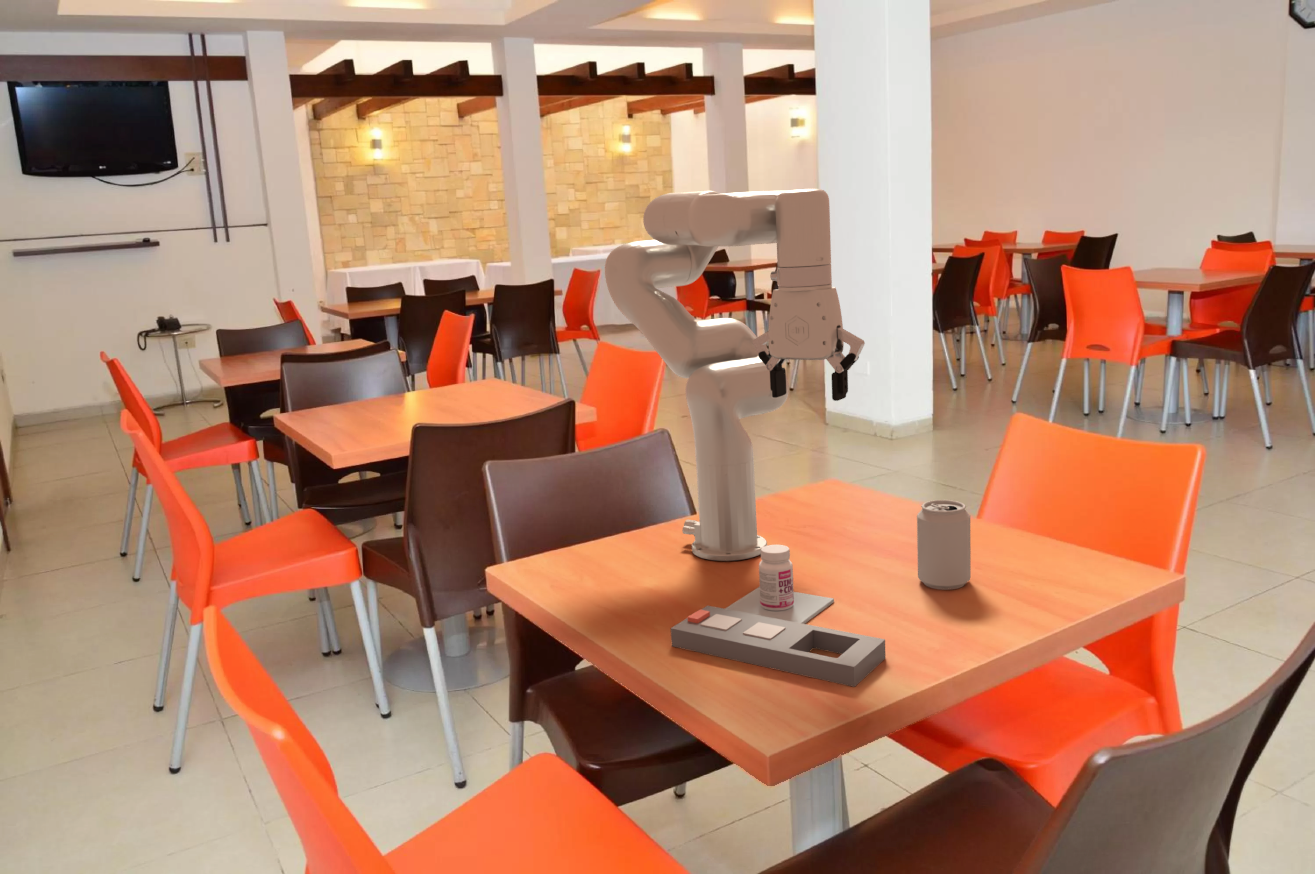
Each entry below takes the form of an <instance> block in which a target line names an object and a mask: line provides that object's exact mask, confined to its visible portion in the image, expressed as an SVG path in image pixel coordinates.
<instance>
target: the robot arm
mask: <svg viewBox="0 0 1315 874" xmlns="http://www.w3.org/2000/svg"><path fill="white" fill-rule="evenodd" d="M830 211H831V210H830V197H829V194H828V193H827V191H825V190H824V189H821V188H804V189H803V188H802V189H791V190H760V191H741V192H727V193H720V192H717V191H715V190H702V191H701V190H700V191H686V192H684V191H683V192H668V193H664V194H662V195H661V194H660V195H659V196H657V197H655V198H654V199H652V200H651V201H650V202H649V203H648V204H647V206H646V208H645V209H644V212H643V219H642V222H643V227H644V229H645V231H646V233H647V234H648V235H649V237H650V238H651V239H648V240H646V239H645V240H637V241H636V240H635V241H631V242H627V243H623V244H621V245H619V246H617V247H615V248H613V250H611V251H610V253H609V254H608V255H607V258H606V260H605V265H604V278H605V282H606V286H607V289H608V292H609V293H608V294H609V295H610V297H611V300H612V301H613V303H614V305H615V306H616V307H617V309H618V310H619V311H620V313H622V315H623V316H624V317H625V318H626V319H627V320H628V321H629V322H630V323H631V324H633V325H634V327H635V328H637V330H639V331H640V332H641V334H643V336H644V337H645V339H646V340H647V342H649V344H650V345H651V347H652V348H653V350H655V351H656V353H657V354H658V356H660V358H661V359H662V361H663V362H664V363H665V364H666V366H667V367H668V368H669V370H671V371H672V373H674V375H676V376H677V377H679V378H683V379H687V381H686V384H685V400H686V404H687V407H688V412H689V415H690V420H691V425H692V431H693V438H694V439H693V440H694V449H695V450H694V454H695V463H696V464H695V465H696V466H695V467H696V468H695V469H696V480H697V481H696V485H697V500H698V519H699V521H697V520H695V519H693V520H692V519H686V520H685V521H684V523H683V527H682V534H684V535H693V536H694V540H693V542H692V543H691V552H692V554H693V555H695V556H696V557H698V558H701V559H705V560H710V561H717V562H719V561H720V562H732V561H742V560H748V559H752V558H754V557H755V558H756V557H757V556H761V548H762V547H764V546H768V542H767V540H766V538H764V537H763V536H761V535H758V527H757V524H758V523H757V507H756V506H757V505H756V504H757V503H756V502H757V501H756V483H755V482H756V481H755V463H754V462H755V461H754V459H755V458H754V446H753V443H752V440H751V437H750V436H749V434H748V432H747V431H746V429H745V427H743V425H742V423H741V421H740V420H741V419H745V418H749V417H752V416H759V415H764V414H768V413H771V412H774V411H776V410H779V409H780V408H781V407H782V406H783V405H784V404H785V403H786V402H787V399H788V396H789V392H790V385H789V380H788V377H787V374H786V371H787V370H786V368H785V367H783V365H784V364H785V362H786V360H796V361H798V360H799V361H801V360H802V361H823V360H826V361H827V362H828V363H829V365H830V366H831V367H832V368H833V370H834V372H832V373H831V398H832V401H834V402H835V401H836V402H838V401H840V400H844V399H846V397H847V394H848V392H849V380H848V379H849V377H848V376H849V375H848V374H849V372H848V371H849V370H851V368H852V366H853V365H854V364H855V363H857V361H858V360H859V358H860V354H861V353H862V350H863V348H864V346H865V344H866V343H865V341H864V339H862V338H861V337H858V336H857V335H856V334H853V333H851V332H850V331H847V330H846V329H844V326H843V316H842V310H841V309H842V308H841V305H840V298H839V295H838V290H837V288H836V286H832V285H833V284H832V283H833V282H832V281H833V280H832V250H831V249H832V247H831V217H830V216H831V215H830V214H831V213H830ZM764 244H767V245H768V244H769V245H771V244H776V257H777V258H776V259H777V262H776V263H777V267H776V270H775V271H771V272H770V280H771V281H773V282H774V281H775V282H777V283H776V284H777V286H778V289H772V293H771V301H770V308H769V318H768V330H767V331H766V332H764V333H762V334H760V335H759V336H757V335H756V334H755V333H754V332H753V330H752V329H750V327H749V326H748V325H746V324H745V323H744V322H742V321H741V320H738V319H736V318H732V317H719V318H712V319H699V318H696V317H695V316H693V314H692V315H691V313H690V312H689V311H688V310H687V309H686V307H685V306H684V305H683V303H681V302H680V301H679V300H678V299H676V298H675V297H673V296H672V295H670V294H668V293H666V292H664V291H661V289H663V288H672V287H684V286H688V285H691V284H693V283H694V282H695V281H697V280H698V279H700V277H701V275H703V273H704V272H705V269H706V268H707V266H708V264H709V262H710V261H711V260H712V258H713V256H714V255H715V253H716V251H717V249H718V248H719V247H744V246H753V245H764ZM767 344H768V346H767ZM844 344H847V345H849V347H850V348H849V352H848V354H846V356H845V355H844V353H843V352H844Z"/></svg>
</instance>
